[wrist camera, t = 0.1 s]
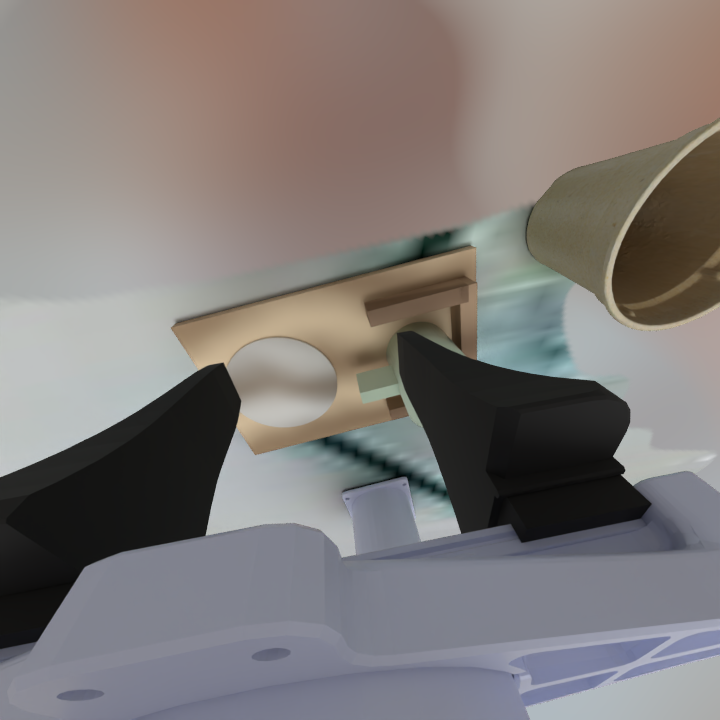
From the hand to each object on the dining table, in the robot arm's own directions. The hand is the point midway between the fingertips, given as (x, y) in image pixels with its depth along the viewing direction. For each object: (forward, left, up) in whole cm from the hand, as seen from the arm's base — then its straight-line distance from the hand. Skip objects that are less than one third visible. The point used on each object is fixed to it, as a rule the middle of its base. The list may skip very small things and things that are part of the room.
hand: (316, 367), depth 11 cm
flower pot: (+1, -19, -10) cm, 21 cm away
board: (-6, -1, -10) cm, 12 cm away
